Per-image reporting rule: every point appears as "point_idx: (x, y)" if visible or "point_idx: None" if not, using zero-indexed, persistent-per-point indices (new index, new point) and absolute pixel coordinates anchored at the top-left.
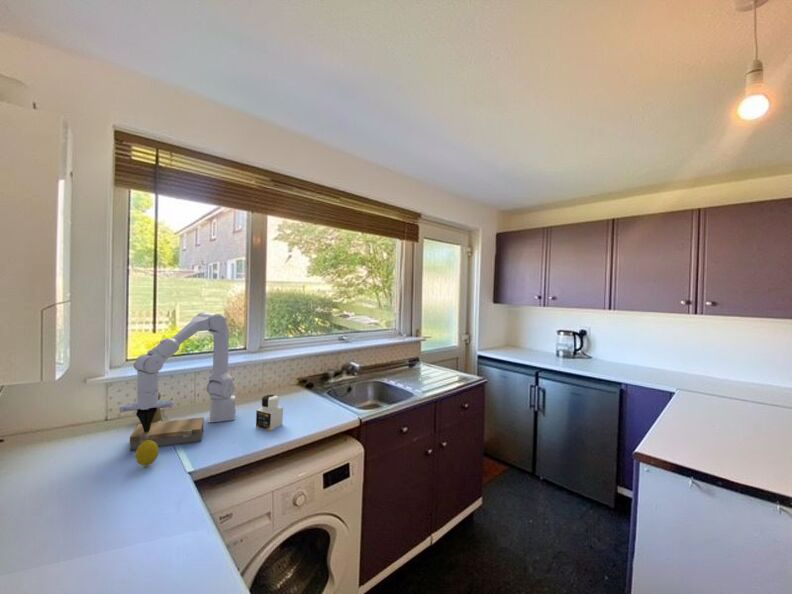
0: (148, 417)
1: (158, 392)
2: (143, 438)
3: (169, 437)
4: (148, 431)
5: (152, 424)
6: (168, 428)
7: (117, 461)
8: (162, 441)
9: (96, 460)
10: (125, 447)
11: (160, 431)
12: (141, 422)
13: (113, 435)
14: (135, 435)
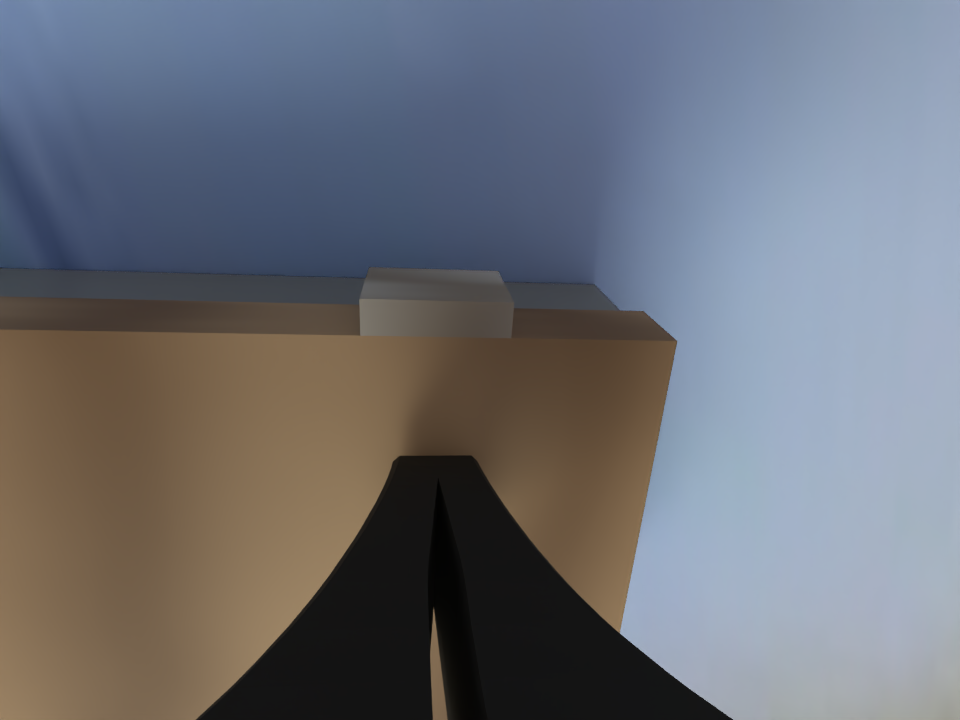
0: (363, 704)
1: None
2: (450, 288)
3: None
4: None
5: None
6: (85, 527)
7: (710, 6)
8: (188, 296)
9: (919, 158)
10: None
11: (191, 434)
12: (560, 583)
13: (760, 691)
14: (594, 389)
